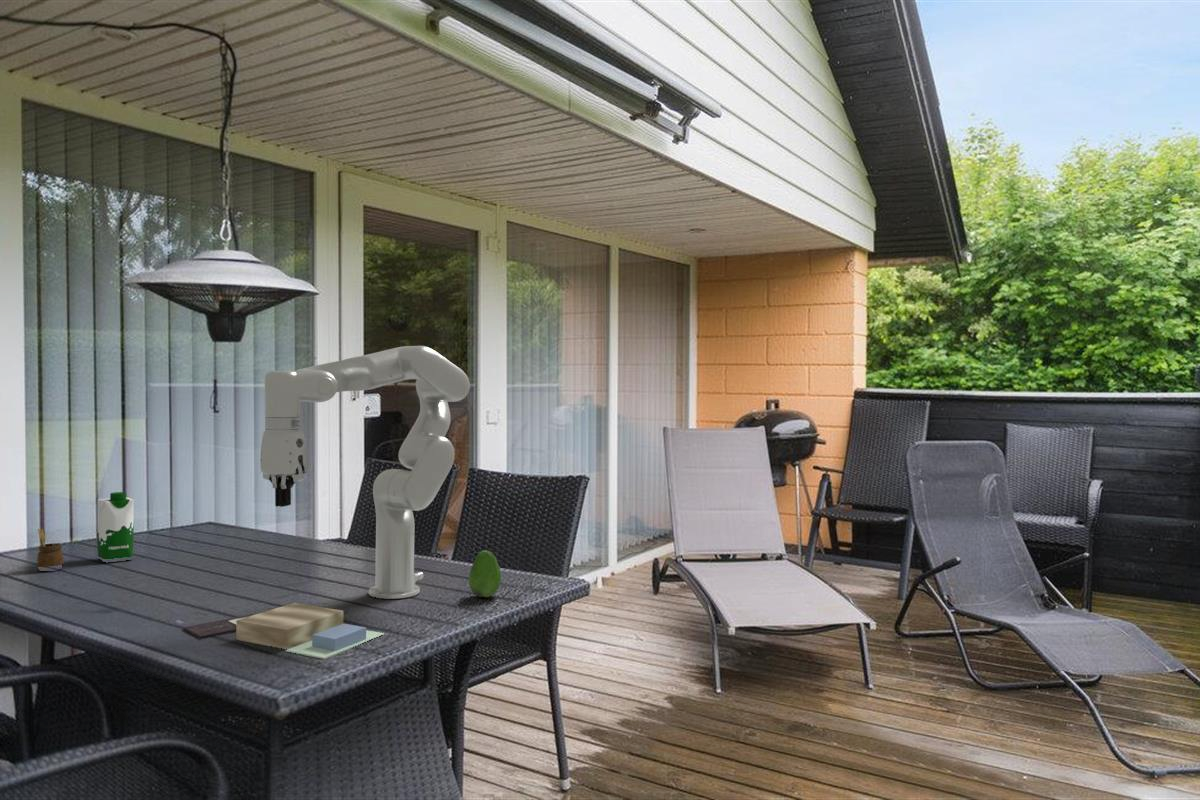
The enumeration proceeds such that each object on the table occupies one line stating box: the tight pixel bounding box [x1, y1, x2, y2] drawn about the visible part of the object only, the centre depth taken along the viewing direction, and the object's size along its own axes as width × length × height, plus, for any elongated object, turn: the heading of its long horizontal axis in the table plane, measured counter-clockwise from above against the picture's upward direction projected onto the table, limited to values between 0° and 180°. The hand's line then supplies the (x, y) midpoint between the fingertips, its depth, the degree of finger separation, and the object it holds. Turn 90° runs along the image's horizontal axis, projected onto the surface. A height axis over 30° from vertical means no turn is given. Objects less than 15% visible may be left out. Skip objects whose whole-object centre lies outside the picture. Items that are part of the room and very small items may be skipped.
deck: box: [235, 602, 344, 650], centre depth 176 cm, size 16×14×4 cm
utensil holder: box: [37, 528, 64, 568], centre depth 230 cm, size 6×6×12 cm
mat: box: [285, 629, 386, 660], centre depth 171 cm, size 18×10×1 cm, turn 156°
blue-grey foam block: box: [312, 623, 367, 651], centre depth 170 cm, size 9×6×2 cm, turn 155°
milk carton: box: [96, 491, 135, 559], centre depth 244 cm, size 9×9×20 cm
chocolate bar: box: [183, 612, 260, 640], centre depth 182 cm, size 9×1×18 cm
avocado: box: [468, 549, 502, 598], centre depth 210 cm, size 8×8×12 cm
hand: (283, 505), depth 189 cm, fingers closed
